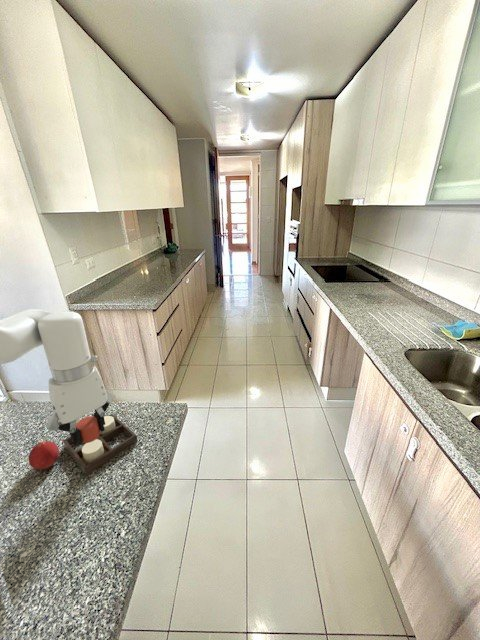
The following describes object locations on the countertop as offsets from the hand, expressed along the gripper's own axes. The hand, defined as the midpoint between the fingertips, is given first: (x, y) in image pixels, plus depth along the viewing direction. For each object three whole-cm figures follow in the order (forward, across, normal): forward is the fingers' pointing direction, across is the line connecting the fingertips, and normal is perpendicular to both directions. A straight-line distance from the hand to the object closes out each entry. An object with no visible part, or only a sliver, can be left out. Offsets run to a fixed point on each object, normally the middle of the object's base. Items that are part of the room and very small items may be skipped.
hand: (89, 434), depth 62 cm
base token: (+8, 0, 0) cm, 8 cm away
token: (+8, -6, -6) cm, 12 cm away
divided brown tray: (+9, -3, -3) cm, 10 cm away
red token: (+1, 0, 0) cm, 1 cm away
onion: (+9, +8, -7) cm, 14 cm away
